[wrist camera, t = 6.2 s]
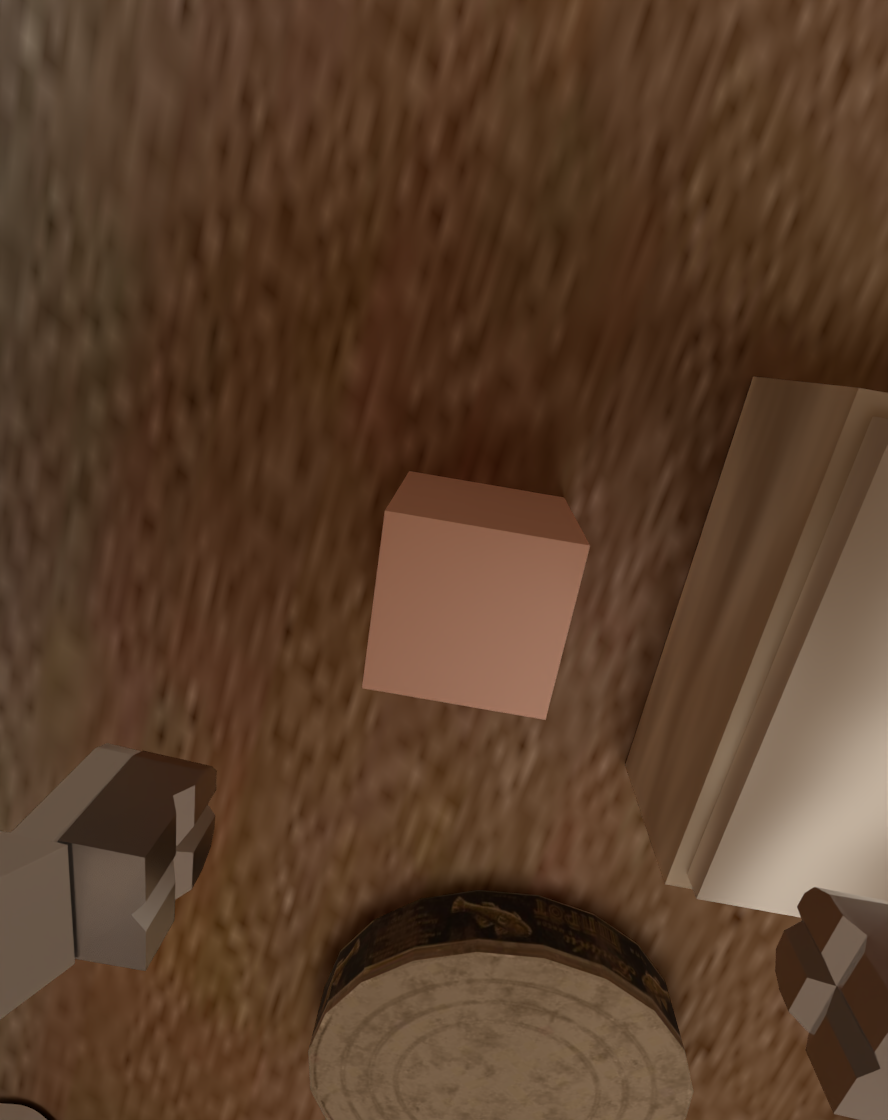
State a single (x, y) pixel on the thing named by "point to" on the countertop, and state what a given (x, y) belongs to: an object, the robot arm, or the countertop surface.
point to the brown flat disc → (496, 1018)
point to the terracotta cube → (473, 594)
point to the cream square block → (779, 664)
